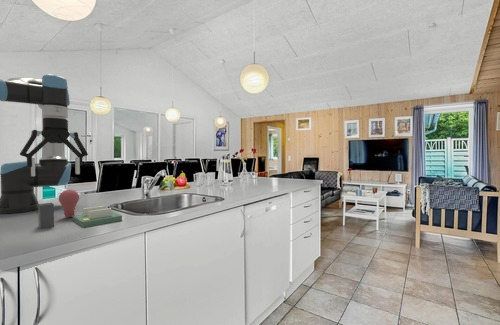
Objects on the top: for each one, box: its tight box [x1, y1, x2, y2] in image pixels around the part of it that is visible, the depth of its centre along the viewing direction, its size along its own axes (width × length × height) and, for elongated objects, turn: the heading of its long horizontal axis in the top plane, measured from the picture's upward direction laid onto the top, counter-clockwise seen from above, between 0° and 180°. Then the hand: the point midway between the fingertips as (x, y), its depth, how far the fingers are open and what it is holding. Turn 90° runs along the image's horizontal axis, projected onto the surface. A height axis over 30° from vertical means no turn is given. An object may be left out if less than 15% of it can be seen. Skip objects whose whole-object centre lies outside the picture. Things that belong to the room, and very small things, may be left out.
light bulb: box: [58, 189, 80, 218], centre depth 110 cm, size 7×7×12 cm
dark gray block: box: [37, 202, 55, 230], centre depth 96 cm, size 4×4×8 cm
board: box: [72, 205, 123, 228], centre depth 105 cm, size 14×14×5 cm
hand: (56, 175), depth 96 cm, fingers open, 13 cm apart
